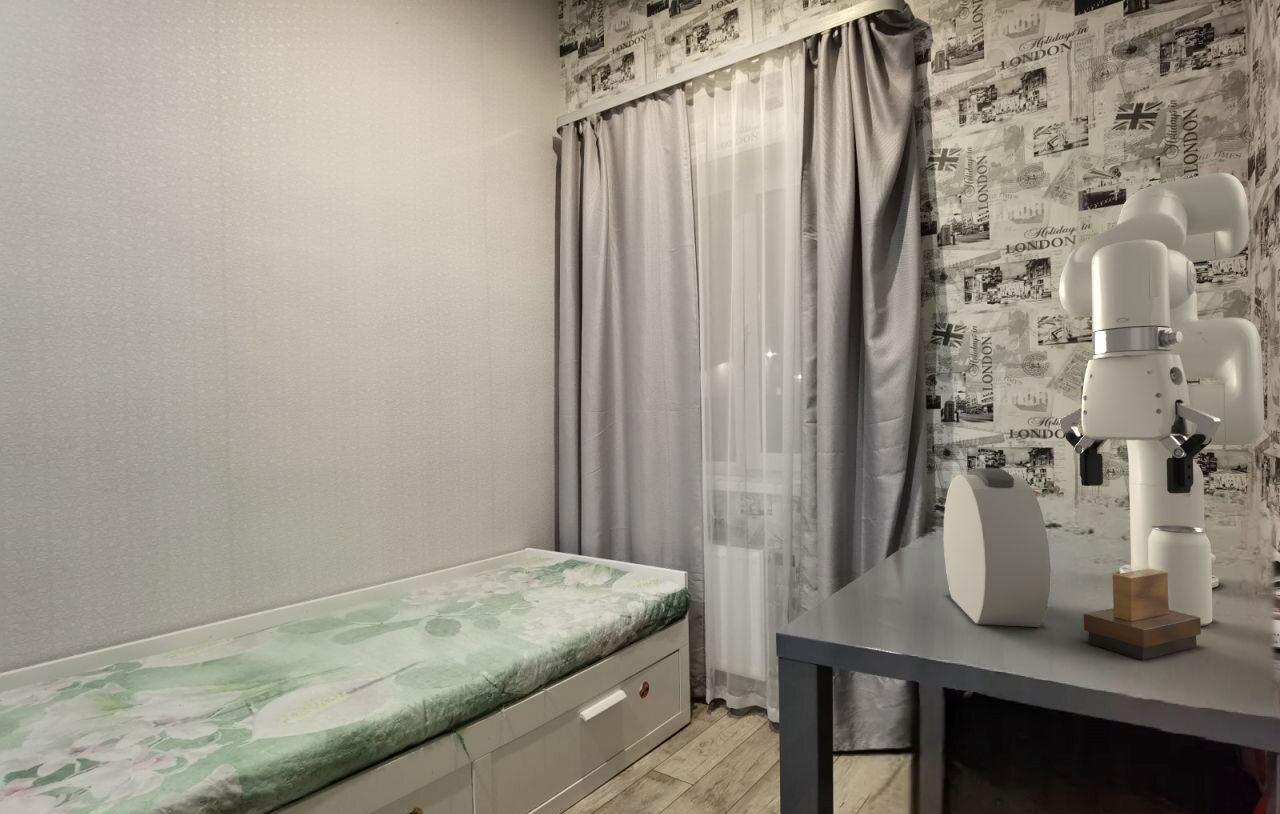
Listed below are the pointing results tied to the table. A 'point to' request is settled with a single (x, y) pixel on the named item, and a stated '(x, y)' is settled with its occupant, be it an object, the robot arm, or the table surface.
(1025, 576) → the alarm clock
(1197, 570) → the can
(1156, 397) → the robot arm
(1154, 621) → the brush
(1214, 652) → the table surface
